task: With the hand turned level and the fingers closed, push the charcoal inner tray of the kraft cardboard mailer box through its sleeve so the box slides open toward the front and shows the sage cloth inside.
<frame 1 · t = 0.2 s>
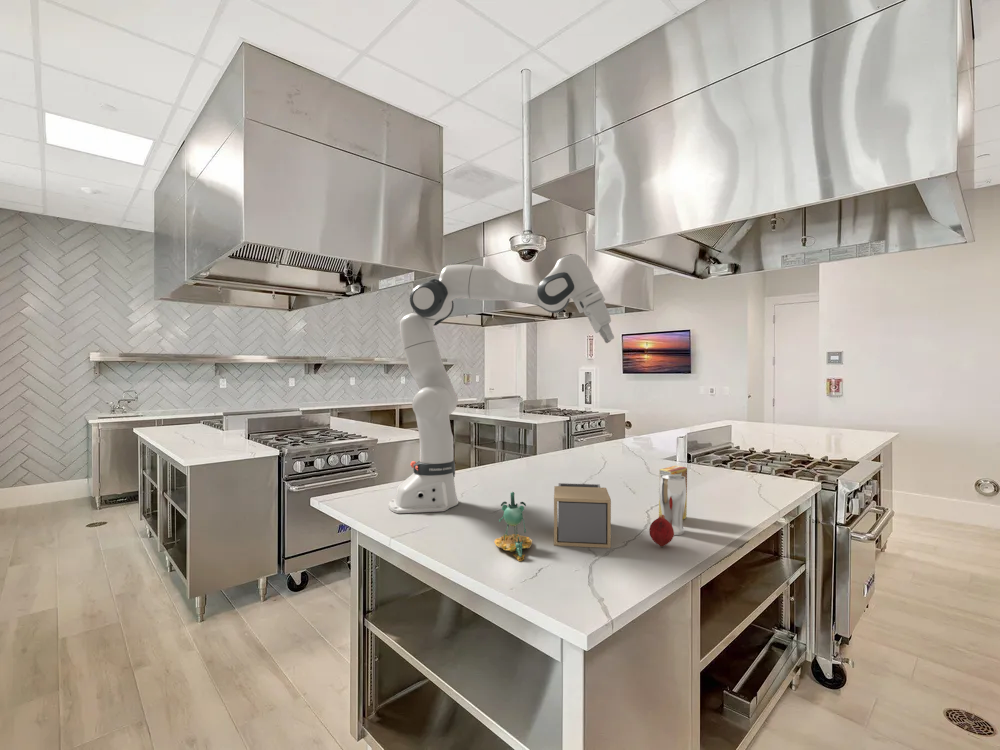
hand: (610, 341, 146), 53 cm above the counter, fingers open, 8 cm apart
candy box: (673, 520, 138), on the counter
tray: (580, 510, 127), point 6 cm above the counter, slide at 0.0 cm
onion: (661, 547, 117), on the counter
beer glass: (672, 532, 128), on the counter
sleeve: (581, 538, 123), on the counter
frog figurine: (512, 548, 117), on the counter
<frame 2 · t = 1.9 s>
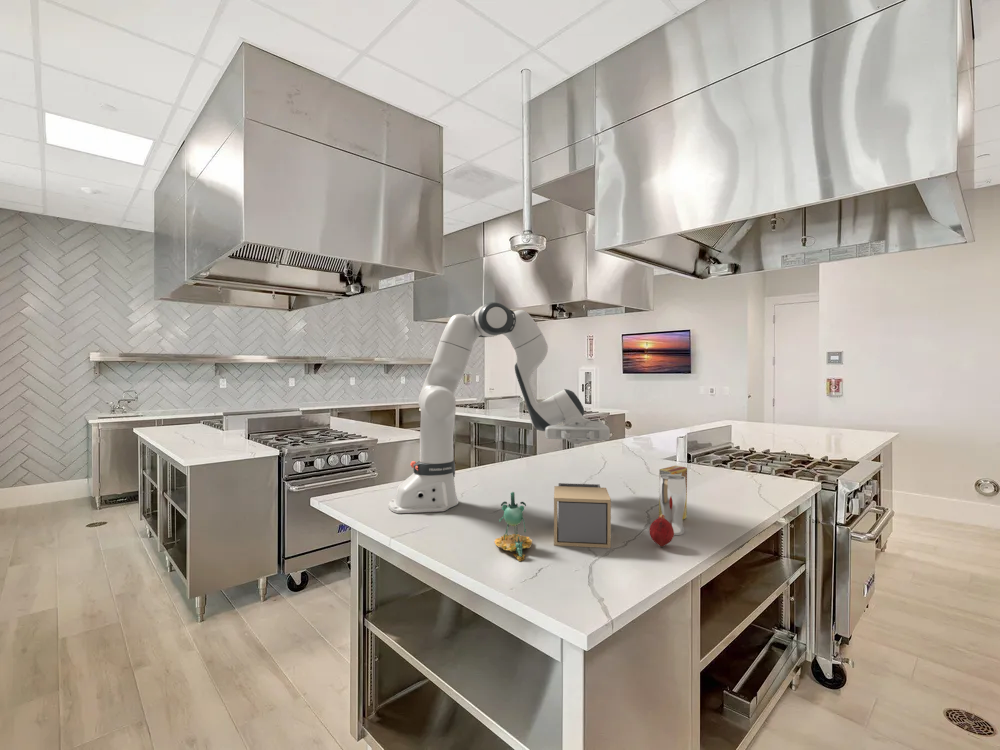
hand: (578, 436, 143), 24 cm above the counter, fingers open, 5 cm apart
nothing on the counter moved.
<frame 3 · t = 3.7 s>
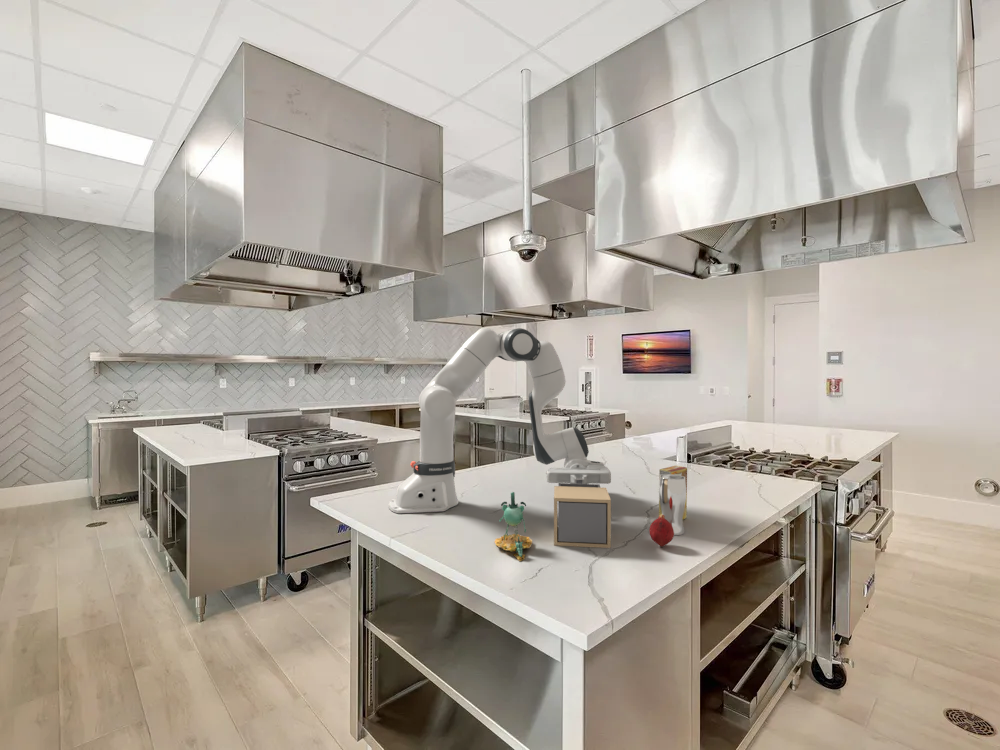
hand: (579, 481, 143), 10 cm above the counter, fingers closed
nothing on the counter moved.
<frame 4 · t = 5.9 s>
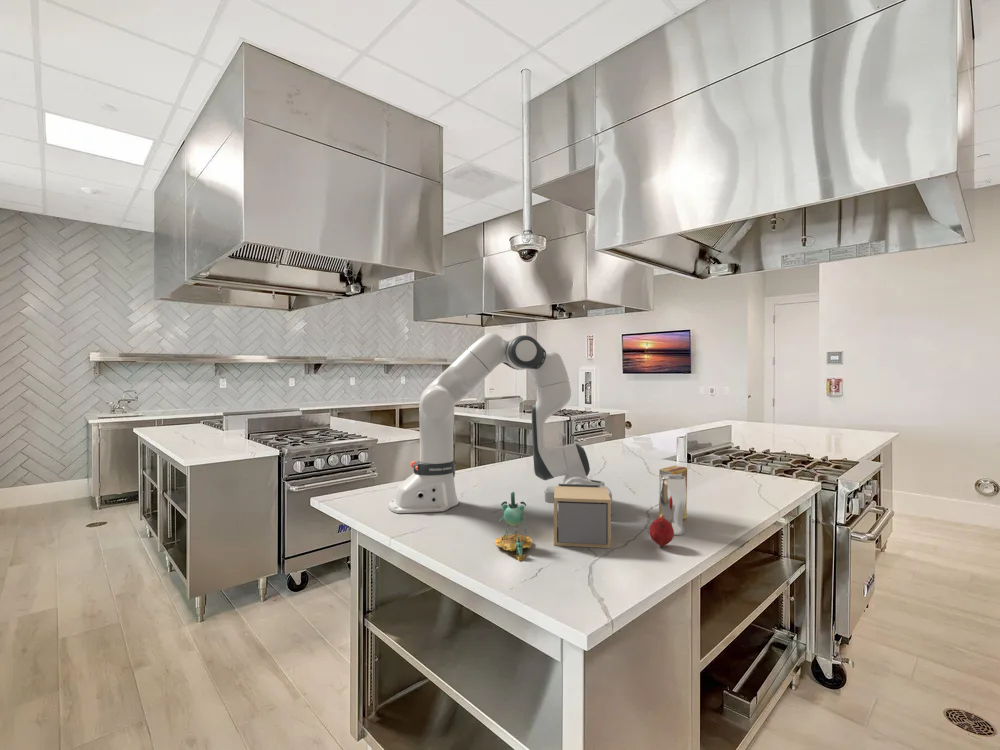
hand: (578, 502, 137), 5 cm above the counter, fingers closed, pressing on tray
tray: (580, 511, 127), point 6 cm above the counter, slide at 0.7 cm, touching gripper
everything else where it was.
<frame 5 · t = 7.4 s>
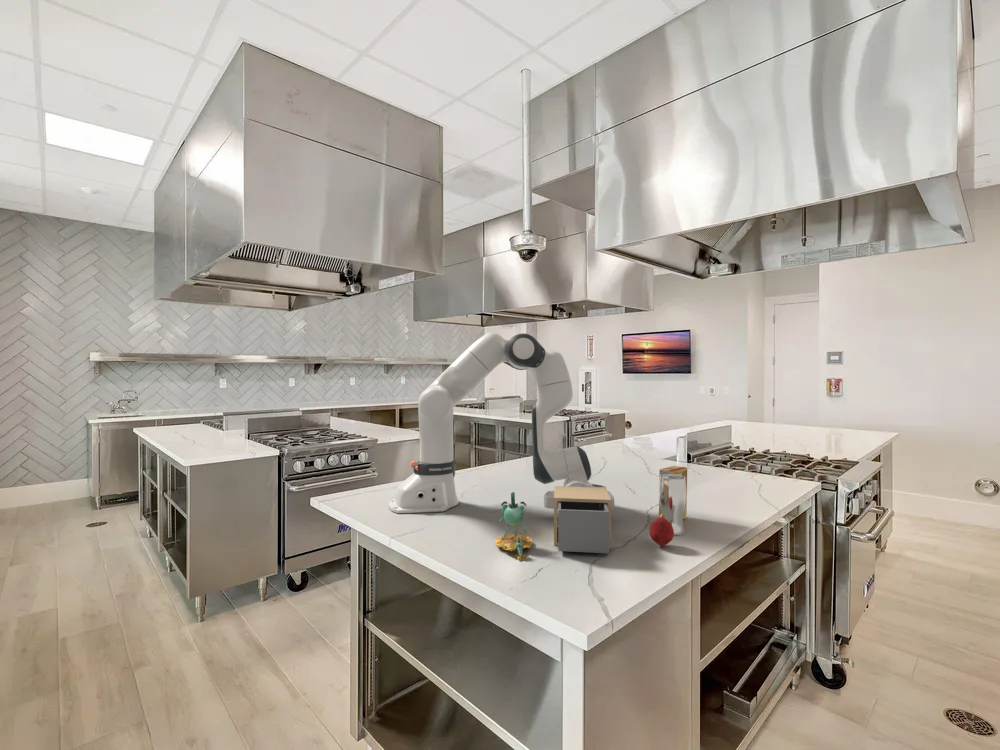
hand: (579, 508, 131), 5 cm above the counter, fingers closed, pressing on tray
tray: (581, 518, 121), point 6 cm above the counter, slide at 6.3 cm, touching gripper
everything else where it was.
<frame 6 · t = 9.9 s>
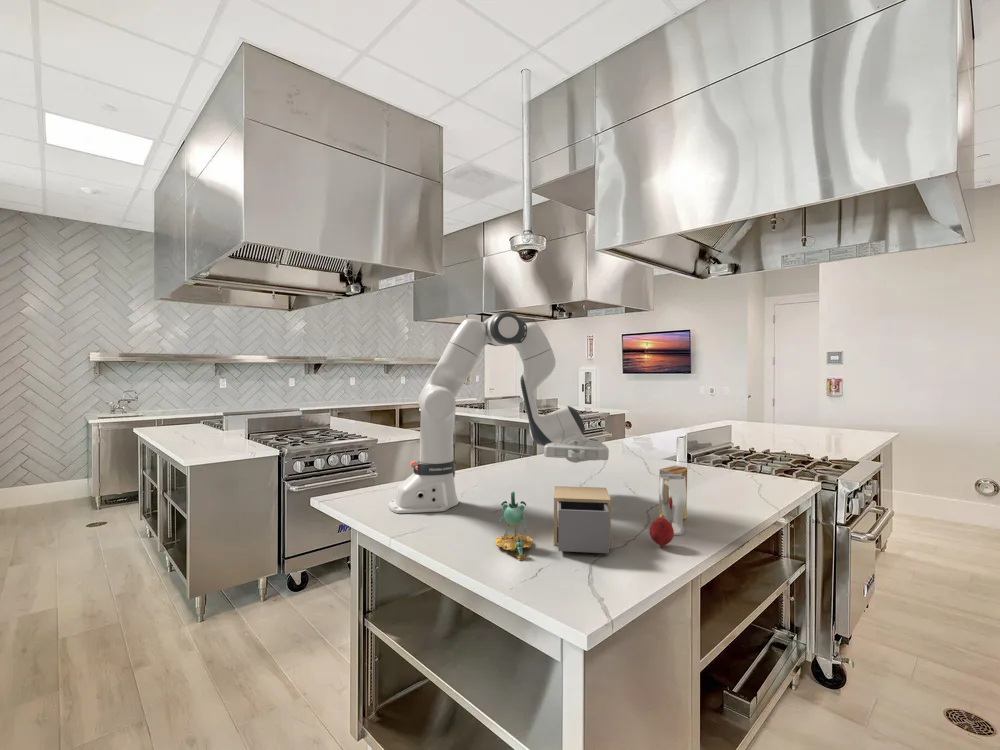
hand: (576, 455, 143), 18 cm above the counter, fingers closed
tray: (581, 518, 121), point 6 cm above the counter, slide at 6.3 cm
everything else where it was.
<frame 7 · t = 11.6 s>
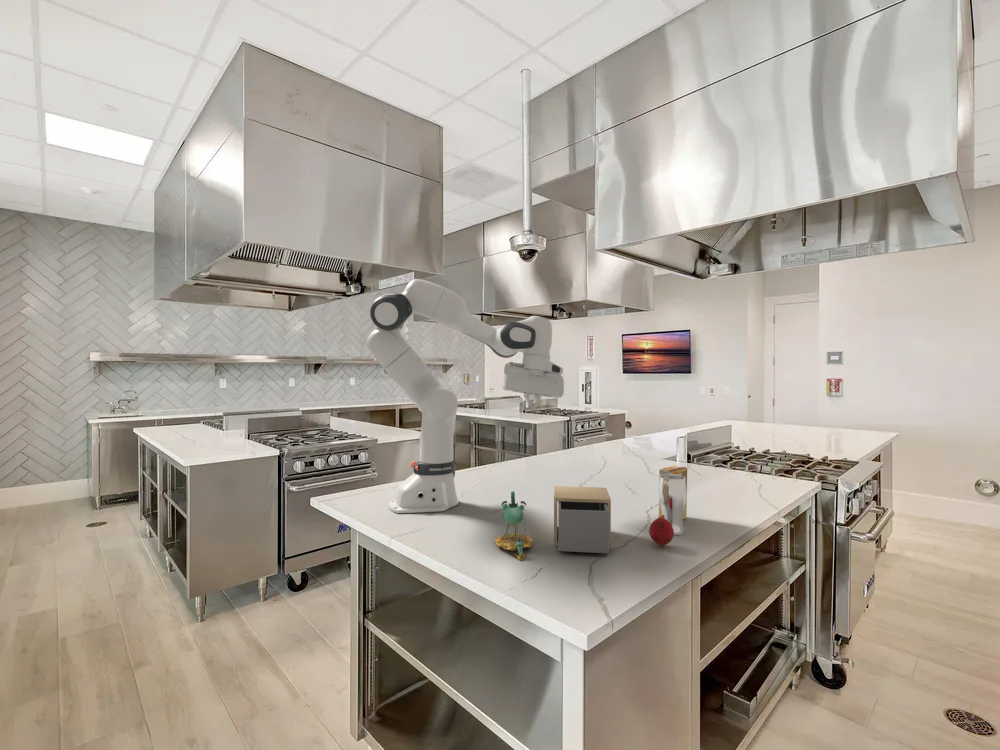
hand: (531, 408, 151), 32 cm above the counter, fingers closed
nothing on the counter moved.
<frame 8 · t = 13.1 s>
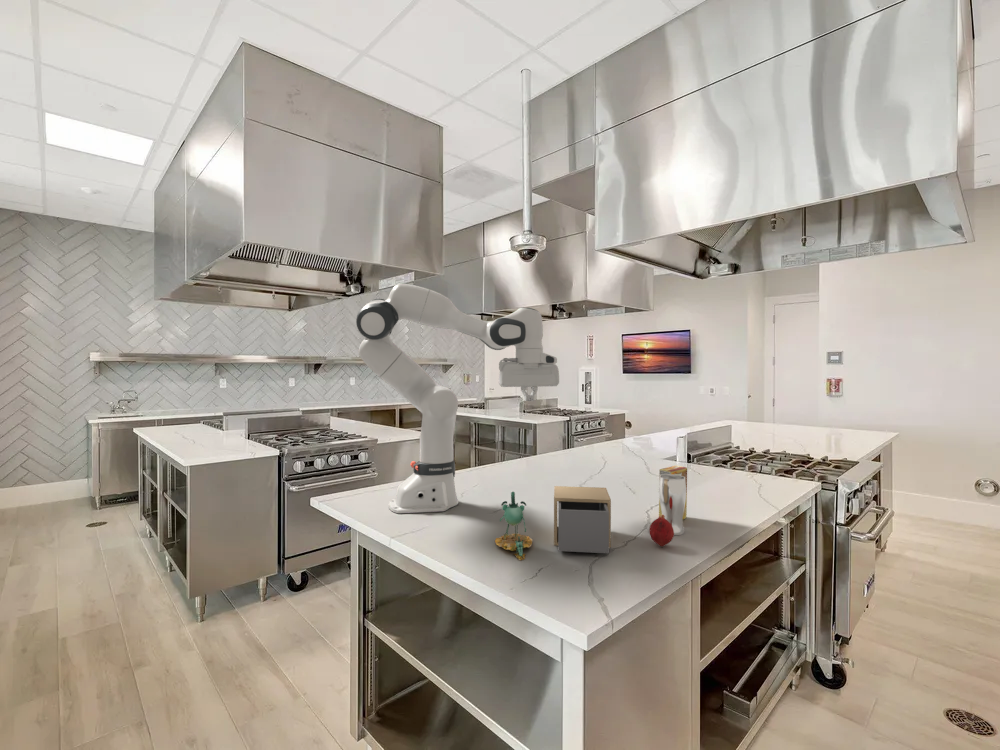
hand: (529, 400, 153), 34 cm above the counter, fingers closed
nothing on the counter moved.
at the end: tray slide at 6.3 cm; beer glass moved 0.2 cm from its start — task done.
